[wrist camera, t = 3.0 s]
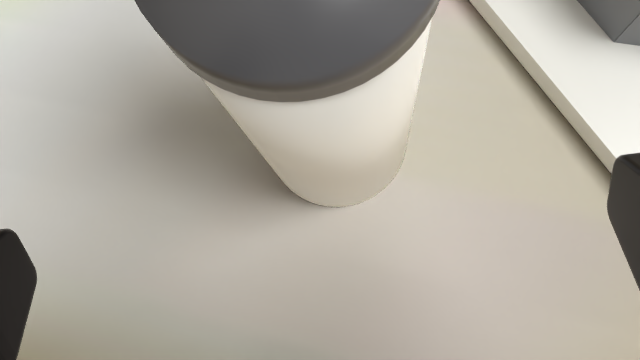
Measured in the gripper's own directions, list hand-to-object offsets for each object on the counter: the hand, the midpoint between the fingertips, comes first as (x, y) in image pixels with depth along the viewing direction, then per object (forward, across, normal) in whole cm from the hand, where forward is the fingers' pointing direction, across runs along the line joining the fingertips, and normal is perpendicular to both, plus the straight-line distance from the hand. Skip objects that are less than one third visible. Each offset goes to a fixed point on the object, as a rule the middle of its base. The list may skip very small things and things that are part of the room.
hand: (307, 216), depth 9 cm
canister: (+12, 0, +5) cm, 13 cm away
